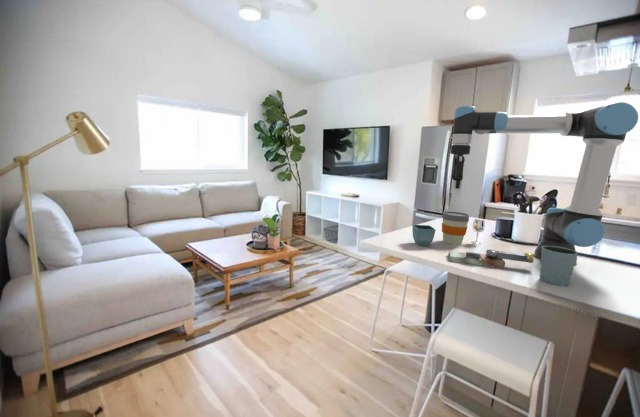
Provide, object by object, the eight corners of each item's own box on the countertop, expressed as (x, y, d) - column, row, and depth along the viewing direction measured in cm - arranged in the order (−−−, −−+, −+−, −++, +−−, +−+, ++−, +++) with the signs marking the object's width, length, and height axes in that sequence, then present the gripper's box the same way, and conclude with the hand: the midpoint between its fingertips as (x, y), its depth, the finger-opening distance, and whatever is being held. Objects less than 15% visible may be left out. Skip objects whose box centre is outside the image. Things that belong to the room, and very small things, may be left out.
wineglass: (484, 245, 152) (487, 222, 150) (471, 243, 153) (475, 220, 151) (480, 242, 158) (483, 219, 156) (468, 240, 159) (471, 218, 157)
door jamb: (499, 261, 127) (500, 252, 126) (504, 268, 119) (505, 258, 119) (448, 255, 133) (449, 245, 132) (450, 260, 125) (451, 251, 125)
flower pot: (434, 247, 143) (436, 229, 141) (415, 246, 143) (417, 228, 142) (427, 242, 152) (429, 225, 150) (410, 241, 152) (412, 224, 150)
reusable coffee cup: (434, 239, 159) (437, 211, 156) (454, 238, 162) (458, 211, 159) (449, 246, 147) (453, 216, 144) (471, 245, 150) (475, 216, 147)
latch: (530, 260, 122) (532, 252, 121) (534, 263, 117) (536, 255, 117) (484, 254, 127) (485, 247, 126) (487, 257, 122) (488, 249, 122)
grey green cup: (578, 288, 103) (585, 255, 101) (545, 285, 105) (551, 252, 103) (560, 277, 113) (566, 246, 111) (530, 274, 114) (536, 243, 112)
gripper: (449, 146, 140) (444, 191, 143) (453, 143, 116) (447, 197, 120) (467, 146, 137) (461, 192, 141) (474, 143, 114) (467, 198, 118)
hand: (454, 194), depth 130 cm, fingers open, 13 cm apart
